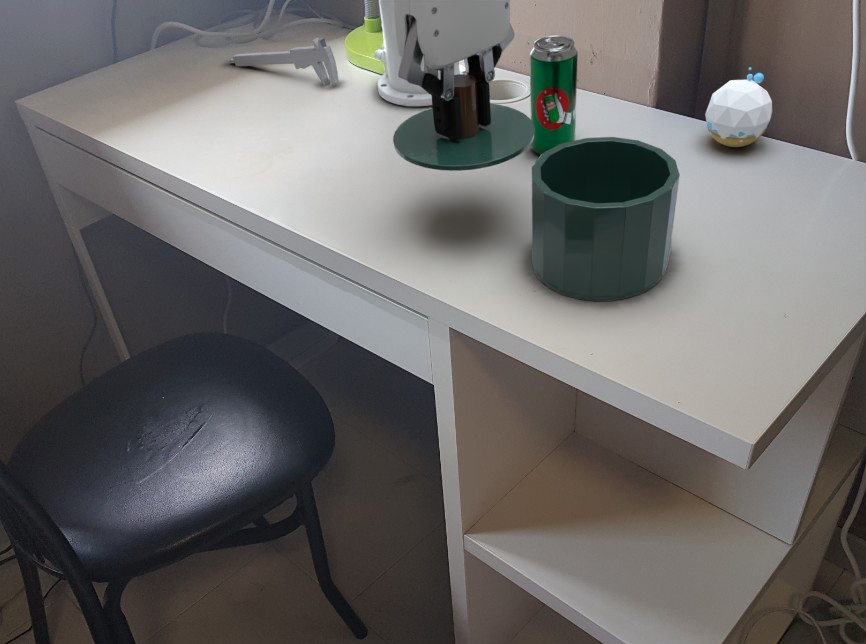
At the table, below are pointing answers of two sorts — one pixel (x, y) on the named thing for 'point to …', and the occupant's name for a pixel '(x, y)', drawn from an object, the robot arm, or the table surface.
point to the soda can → (553, 91)
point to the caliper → (297, 59)
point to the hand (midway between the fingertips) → (463, 127)
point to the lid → (465, 135)
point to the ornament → (739, 112)
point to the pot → (603, 217)
